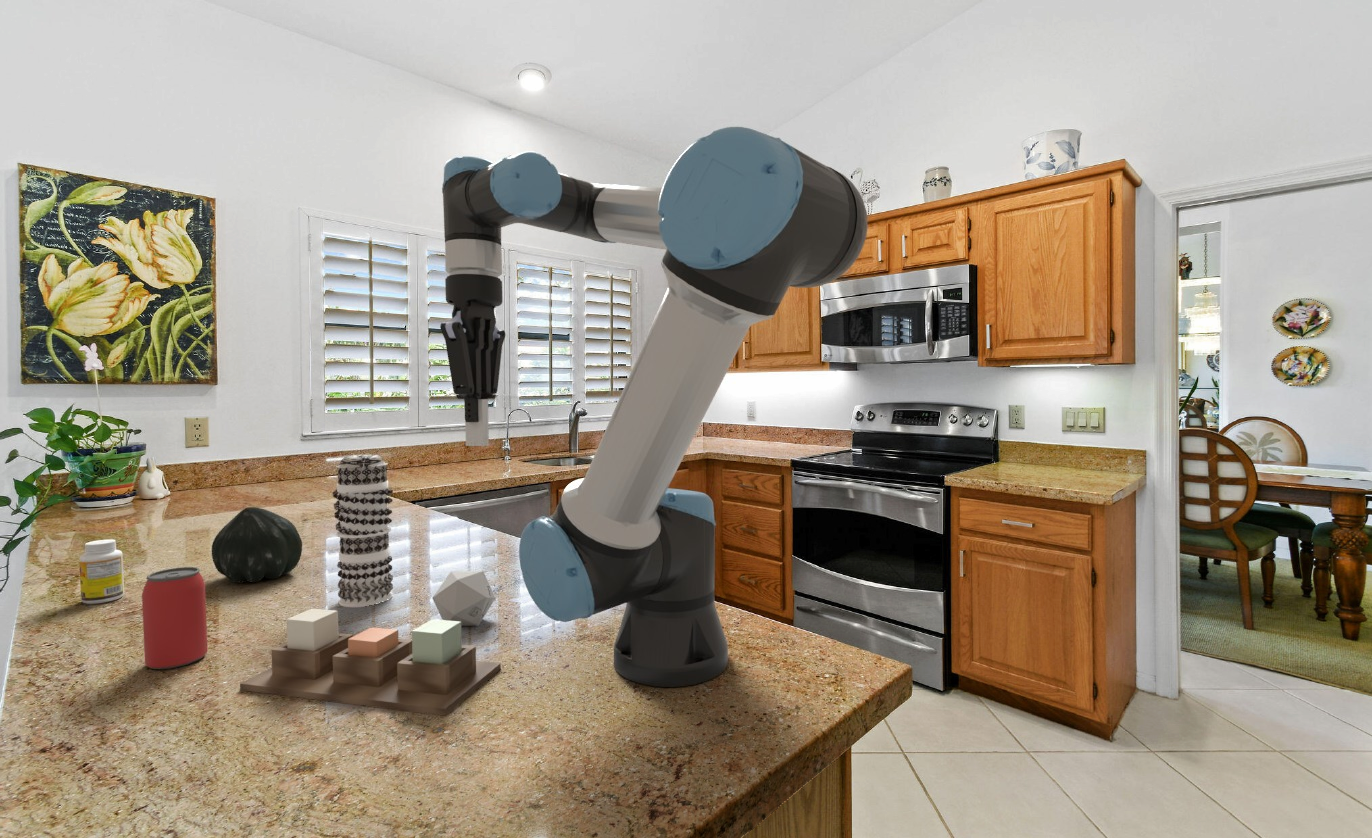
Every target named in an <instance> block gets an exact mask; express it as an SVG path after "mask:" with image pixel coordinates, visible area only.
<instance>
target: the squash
mask: <svg viewBox="0 0 1372 838" xmlns="http://www.w3.org/2000/svg"><path fill="white" fill-rule="evenodd" d="M302 553H303V541H302V538H301V536H300V534H299V531H298V530H297V528H296V526H295V525H294V524H293V522H291V521H290V520H289V519H287V518H286V517H283V516H282V515H279V514H277V513H275V512H272V511H271V510H267V509H264V508H260V507H255V506H248V507H244V508H243V509H241V510H240V511H239V512H238V513H237V514H236V515H235V516H234V517H232V519H231V520H229V521H228V523H226V524H225V525H224V526H223V527H222V528H221V529H220V531H219V532H218V533H217V534H216V535H215V537H214V539H213V542H212V545H211V558H212V561H213V563H214V564H213V565H214V567H215V569H216V570H217V572H218V573H220V574H221V575H222V576H224V577H226V579H228V580H230V581H231V582H232V583H236V584H237V583H238V584H240V583H246V582H250V583H253V584H255V583H257V582H260V581H261V580H263V578H264V577H265V578H266V579H270V580H272V579H278V578H279V577H280V576H283V575H286V574H288V573H290V572H291V571H293V570H294V569H295V568H296V567H297V565H298V563H299V562H300V560H301V557H302Z"/></svg>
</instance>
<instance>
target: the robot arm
mask: <svg viewBox="0 0 1372 838" xmlns="http://www.w3.org/2000/svg"><path fill="white" fill-rule="evenodd" d="M441 190H442V191H441V192H442V200H443V201H442V204H443V205H442V206H443V227H444V228H443V229H444V230H443V231H444V232H443V233H444V247H445V249H444V251H445V255H444V260H445V261H444V262H445V264H444V265H445V266H444V267H445V268H444V269H445V272H446V273H447V274H449V275H447V276H446V278H444V279H445V281H444V282H445V301H446V303H447V304H449V305H451V306H453V309H452V312H451V320H450V321H448V322H447V321H446V322H445V321H444V322H441V323H440V327H439V328H440V331H441V333H442V336H443V338H444V342H445V347H446V354H447V359H448V365H449V371H450V378H451V384H452V392H453V393H454V395H455V396H456V399H457V400H463V401H464V420H465V421H464V422H465V423H464V425H465V426H464V427H465V446H466V447H467V446H468V447H487V446H490V444H489V443H490V442H489V441H490V440H489V439H490V437H489V400H494V399H496V395H497V393H498V388H499V379H500V372H501V371H500V369H501V361H502V352H503V344H504V341H505V339H506V331H505V330H504V329H498V327H497V326H496V325H497V324H496V323H497V319H496V313H495V308H496V307H500V306H501V305H502V304H503V280H501V279H500V278H499V277H500V276H502V275H503V263H502V262H503V261H502V259H503V258H502V228H504V227H506V226H507V227H508V226H510V225H514V224H523V225H527V226H532V227H536V228H541V229H545V230H548V231H549V230H550V231H554V232H557V233H564V234H568V235H572V236H576V237H581V238H584V239H589V240H592V241H595V242H598V243H603V244H604V243H605V244H607V243H610V244H617V243H619V244H620V243H621V244H626V245H631V246H640V247H646V248H653V249H660V250H666V251H665V252H664V255H663V257H662V259H661V262H660V263H661V268H662V270H663V272H664V274H665V278H666V280H667V286H668V287H667V289H666V291H665V294H664V296H663V298H662V300H661V303H660V305H659V307H658V309H657V312H656V314H655V316H654V319H653V321H652V323H651V326H650V327H649V330H648V332H647V335H646V336H645V339H644V341H643V344H642V346H641V348H640V351H639V353H638V355H637V357H636V360H635V362H634V364H633V367H632V368H631V371H630V373H629V375H628V377H627V379H626V383H625V385H624V386H623V389H622V391H621V393H620V396H619V398H618V401H617V403H616V405H615V408H614V409H613V412H612V415H611V416H610V420H609V421H608V423H607V426H606V428H605V431H604V433H603V434H602V437H601V439H600V442H599V444H598V447H597V449H596V451H595V453H594V454H593V455H594V456H593V457H592V460H591V462H590V464H589V466H588V469H587V471H586V474H585V476H584V477H583V478H578V479H575V480H573V481H572V482H570V483H569V484H568V485H567V486H566V487H565V488H564V490H563V492H562V495H561V496H560V499H559V501H558V504H557V506H556V508H555V510H554V511H553V514H551V515H550V516H539V517H537V518H536V519H534V520H532V521H530V522H528V523H527V524H526V526H525V527H524V528H523V531H522V532H521V535H520V539H519V546H518V556H519V558H518V559H519V567H520V570H521V574H522V579H523V582H524V585H525V586H526V587H525V588H526V589H527V591H528V594H529V596H530V598H531V599H532V601H533V602H534V604H535V605H536V607H537V608H538V609H539V610H540V611H541V612H542V613H543V614H544V615H545V616H546V617H547V618H549V619H551V620H553V621H556V622H562V623H566V622H567V623H568V622H571V621H577V620H579V619H588V618H590V617H592V616H594V615H597V614H600V613H602V612H605V611H607V610H610V609H613V608H616V607H618V606H621V605H624V604H626V605H625V606H626V607H625V608H624V609H625V610H624V611H623V612H624V613H623V616H622V619H621V622H620V626H619V629H618V633H617V635H616V638H615V642H614V645H613V666H614V669H615V670H616V672H617V673H618V674H619V675H620V676H622V677H624V678H625V679H627V680H629V681H632V682H634V683H637V684H641V685H646V686H652V687H660V688H661V687H666V688H668V687H669V688H674V687H685V686H692V685H698V684H701V683H704V682H707V681H710V680H713V679H714V678H717V677H718V676H720V674H722V673H723V672H725V670H726V669H727V667H728V665H729V664H728V663H729V647H728V646H729V645H728V642H727V638H726V635H725V632H724V629H723V626H722V623H721V620H720V616H719V613H718V611H717V607H716V603H715V573H716V571H715V566H716V565H715V563H716V562H715V556H716V553H715V552H716V551H715V550H716V549H715V548H716V546H715V541H716V539H715V533H716V532H715V529H716V526H717V523H716V520H715V508H714V501H713V500H712V498H711V497H710V496H709V495H708V494H706V493H704V492H701V491H696V490H695V491H694V490H687V489H680V488H679V489H678V488H669V486H670V484H671V482H672V481H673V478H674V477H675V475H676V473H677V470H678V468H679V467H680V465H681V463H682V461H683V459H684V457H685V455H686V452H687V451H688V449H689V447H690V445H691V443H692V442H693V440H694V437H695V436H696V433H697V431H698V430H699V427H700V425H701V424H702V422H703V420H704V418H705V416H706V414H707V412H708V410H709V408H710V406H711V404H712V402H713V400H714V398H715V396H716V394H717V392H718V390H719V388H720V386H721V384H722V382H723V380H724V378H725V376H726V375H727V372H728V370H729V368H730V367H731V364H732V363H733V361H734V358H735V356H736V355H737V353H738V351H739V350H740V347H741V346H742V343H743V341H744V339H745V338H746V335H747V333H748V332H749V329H750V327H752V326H753V325H754V324H757V323H760V322H764V321H767V320H770V319H772V318H773V317H774V316H775V315H776V312H777V310H778V309H779V306H780V304H781V303H782V301H783V299H784V297H785V296H786V293H787V291H788V290H789V288H790V287H793V288H797V289H798V288H800V289H801V288H802V289H803V288H805V289H806V288H807V289H810V288H816V287H822V286H824V285H827V284H830V283H832V282H833V281H835V280H837V279H838V278H840V277H841V276H843V275H844V274H845V273H847V272H848V271H849V269H851V267H852V266H853V264H854V263H855V262H856V261H857V260H858V258H859V256H860V254H861V252H862V250H863V248H864V246H865V242H866V240H867V236H868V211H867V208H866V206H865V202H864V199H863V197H862V195H861V193H860V191H859V189H857V187H856V186H855V184H854V183H853V182H852V181H851V180H850V179H849V178H848V177H847V176H846V175H844V174H843V173H841V172H839V171H837V170H836V169H834V168H832V167H831V166H828V165H825V164H823V163H821V162H820V161H818V160H816V159H814V158H813V157H810V156H809V155H807V154H806V153H804V152H802V151H801V150H799V149H798V148H796V147H794V146H792V145H790V144H789V143H786V141H783V140H782V139H781V138H780V137H774V136H773V135H772V136H771V135H768V134H766V133H764V132H760V131H758V130H755V129H752V128H749V127H748V128H747V127H744V126H727V127H723V128H719V129H717V130H713V131H712V132H711V133H709V134H708V135H706V136H702V137H701V138H698V139H696V140H695V141H694V142H693V143H692V144H691V145H689V146H688V147H687V148H686V149H685V150H684V152H682V154H681V155H680V156H679V157H678V158H677V160H676V161H675V162H674V164H673V165H672V167H671V168H670V171H669V172H668V173H667V176H666V178H665V181H664V183H663V185H662V187H655V186H642V185H641V186H640V185H639V186H638V185H627V184H626V185H623V184H606V183H605V184H604V183H603V184H602V183H594V182H589V181H586V180H582V179H578V178H576V177H572V176H569V175H567V174H565V173H564V174H563V173H560V172H559V171H558V169H557V167H556V166H555V165H554V164H553V163H551V161H549V160H548V159H547V157H546V156H545V155H543V154H542V153H539V152H536V151H524V152H521V153H515V154H514V155H513V154H512V155H508V156H507V157H504V158H502V159H500V160H499V161H496V162H493V161H491V160H489V159H485V158H482V157H476V156H462V157H456V156H455V157H453V158H451V159H449V160H447V161H446V163H445V164H444V166H443V183H442V187H441Z"/></svg>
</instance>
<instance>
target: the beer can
mask: <svg viewBox="0 0 1372 838" xmlns="http://www.w3.org/2000/svg"><path fill="white" fill-rule="evenodd" d="M200 571H201V569H200V568H198V567H194V566H185V567H183V566H182V567H174V568H167V569H163V570H157V571H155V572H151V573H150V574H148V575H147V576H146V581H145V585H144V587H143V589H142V594H141V599H142V600H141V602H142V626H143V648H144V649H143V651H144V664H145V665H146V666H147V667H148V668H149V669H153V670H167V669H168V670H170V669H174V668H175V669H176V668H180V667H185V666H187V665H189V664H192V663H195V662H197V661H199V660H201V659H202V658H204V656H205V655H206V654H207V652H208V626H207V604H206V599H207V598H206V582H205V581H204V577H203V576H202V574H201V572H200Z"/></svg>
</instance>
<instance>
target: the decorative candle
mask: <svg viewBox="0 0 1372 838" xmlns="http://www.w3.org/2000/svg"><path fill="white" fill-rule="evenodd" d="M388 464H389V463H388V462H385V461H384V460H383V457H381V455H378V454H355V455H346V456H344V457H343V458H342V459H341V460H340V462H339V463H338V464H337V465H335V467H336V468H337V479H338V481H337V483H336V489H335V490H334V491H333V492H332V497H333V498H335V499H336V502H335V503H334V504H333V507H334V510H336V511H335V512H334V517H333V518H335V519H336V520H337V523H335V530H336V537H338V538H339V546H340V547H339V552H338V560H339V561H338V562H337V565H336V566H337V568H338V569H340V570H338V571H337V577H339V578H340V580H338V582H337V588H338V589H339V590H338V591H337V595H338V597H339V600H338V604H339V606H341V607H344V608H352V609H354V608H356V609H357V608H365V606H367V607H370V606H369V605H372V606H375V605H374V604H376V603H379V602H382V601H386V600H387V599H390V598H391V597H392V598H393V596H394V593H393V592H392V590H393V589H394V584H393V583H392V581H393V580H394V578H393V577H394V576H393V574H391V571H392V570H393V565H391V564H390V563H391V562H392V561H393V557H392V556H391V546H390V544H389V541H390V540H389V539H390V538H389V536H390V535H389V533H391V531H392V527H391V526H389V524H391V523H392V522H393V520H392V518H390V517H389V516H390V515H391V514H392V513H393V510H392V509H390V508H389V507H388V505H389V504H391V503H392V502H393V499H392V497H390V495H391V494H393V492H394V491H393V489H391V488H389V480H388V469H387V468H388V467H387V466H388ZM392 595H393V596H392ZM392 598H391V599H392ZM391 599H390V600H391ZM386 602H387V601H386Z"/></svg>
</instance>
